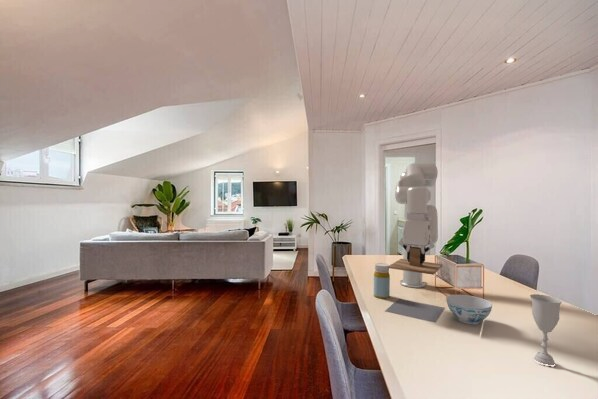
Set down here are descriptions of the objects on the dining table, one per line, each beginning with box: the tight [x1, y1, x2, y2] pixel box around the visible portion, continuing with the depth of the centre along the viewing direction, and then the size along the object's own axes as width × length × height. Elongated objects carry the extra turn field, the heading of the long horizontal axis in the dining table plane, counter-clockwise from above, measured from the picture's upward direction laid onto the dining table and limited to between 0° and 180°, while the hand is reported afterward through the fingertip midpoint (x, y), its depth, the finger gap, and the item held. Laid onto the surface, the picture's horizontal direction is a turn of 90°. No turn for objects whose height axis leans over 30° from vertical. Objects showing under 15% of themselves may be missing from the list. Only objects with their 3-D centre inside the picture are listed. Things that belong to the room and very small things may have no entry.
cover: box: [388, 246, 443, 276], centre depth 126 cm, size 17×17×8 cm
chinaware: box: [445, 294, 493, 325], centre depth 115 cm, size 15×15×8 cm
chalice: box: [529, 294, 563, 365], centre depth 87 cm, size 7×7×18 cm
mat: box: [384, 298, 446, 323], centre depth 126 cm, size 19×19×1 cm
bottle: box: [373, 262, 391, 300], centre depth 142 cm, size 7×7×15 cm
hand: (415, 261), depth 126 cm, fingers closed on cover, 4 cm apart
